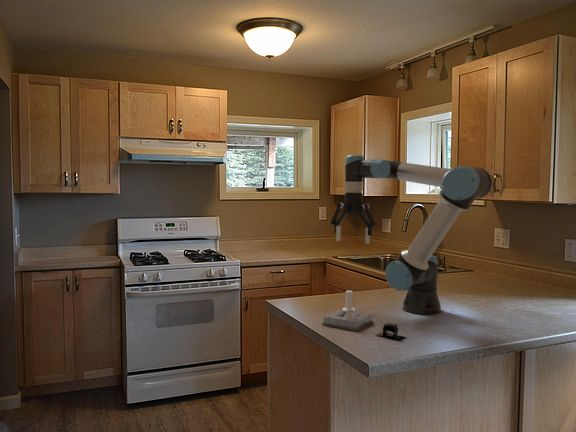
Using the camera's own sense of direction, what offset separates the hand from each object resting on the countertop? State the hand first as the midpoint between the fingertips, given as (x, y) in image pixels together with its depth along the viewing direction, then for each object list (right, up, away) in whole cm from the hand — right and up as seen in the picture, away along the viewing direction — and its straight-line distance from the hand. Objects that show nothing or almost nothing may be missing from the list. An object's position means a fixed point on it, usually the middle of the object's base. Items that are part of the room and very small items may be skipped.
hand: (352, 242), depth 211 cm
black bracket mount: (+7, -30, -43) cm, 53 cm away
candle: (-5, -28, -28) cm, 40 cm away
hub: (-5, -29, -28) cm, 41 cm away
